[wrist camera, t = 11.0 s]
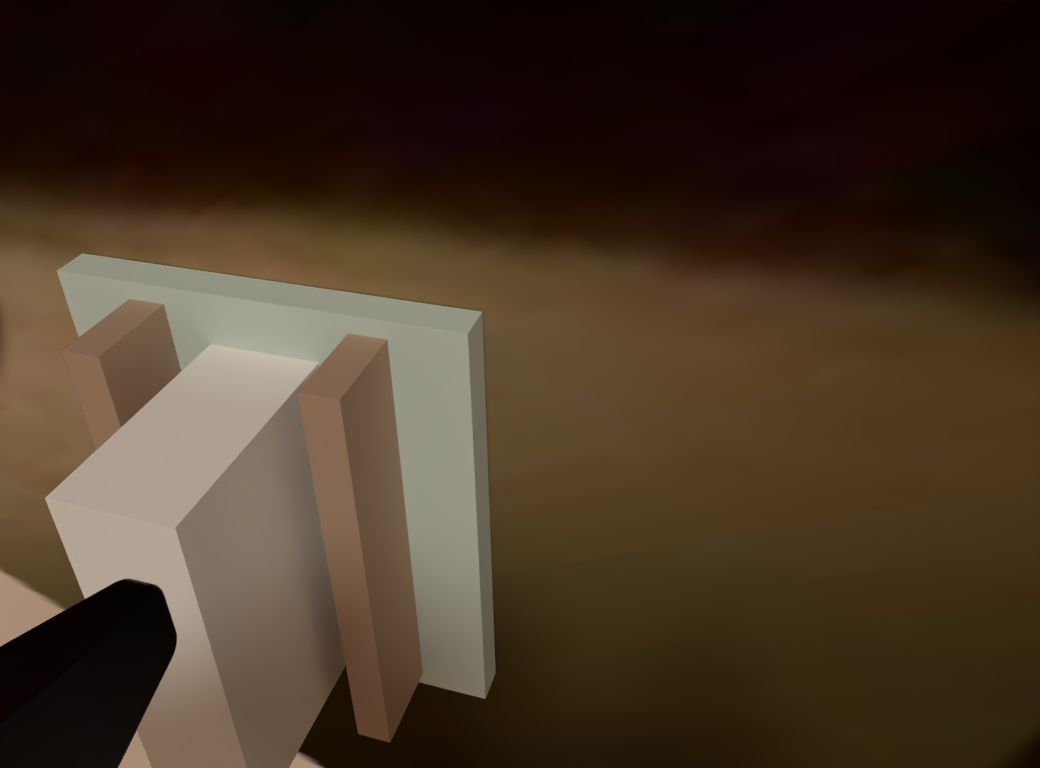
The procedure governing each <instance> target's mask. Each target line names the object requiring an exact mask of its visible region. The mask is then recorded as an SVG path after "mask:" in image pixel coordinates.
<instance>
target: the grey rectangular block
mask: <svg viewBox="0 0 1040 768" xmlns="http://www.w3.org/2000/svg"><path fill="white" fill-rule="evenodd" d="M318 368H319V363H318V362H312V361H306V360H301V359H295V358H289V357H283V356H277V355H271V354H265V353H260V352H254V351H248V350H242V349H236V348H230V347H224V346H218V345H213V344H210V345H209V346H208V347H207V348H206V349H205V350H204V351H203V352H202V353H201V354H200V355H198V356H197V357H196V358H195V359H194V360H193V361H192V362H191V363H190V364H189V365H188V366H187V367H186V368H184V369H183V370H182V371H181V372H180V373H179V374H178V375H177V376H176V377H175V378H174V379H173V380H172V381H171V382H169V383H168V384H167V385H166V386H165V387H164V388H163V389H162V390H161V391H160V392H159V393H158V394H157V395H155V396H154V397H153V398H152V399H151V400H150V401H149V402H148V403H147V404H146V405H145V406H144V407H143V408H141V409H140V410H139V411H138V412H137V413H136V414H135V415H134V416H133V417H132V418H131V419H130V420H129V421H128V422H126V423H125V424H124V425H123V426H122V427H121V428H120V429H119V430H118V431H117V432H116V433H115V434H114V435H112V436H111V437H110V438H109V439H108V440H107V441H106V442H105V443H104V444H103V445H102V446H101V447H100V448H99V449H97V450H96V451H95V452H94V453H93V454H92V455H91V456H90V457H89V458H88V459H87V460H86V461H85V462H83V463H82V464H81V465H80V466H79V467H78V468H77V469H76V470H75V471H74V472H73V473H72V474H71V475H69V476H68V477H67V478H66V479H65V480H64V481H63V482H62V483H61V484H60V485H59V486H58V487H57V488H56V489H54V490H53V491H52V492H51V493H50V494H49V495H48V496H47V497H46V498H45V499H46V502H47V505H48V507H49V510H50V512H51V515H52V517H53V520H54V522H55V525H56V527H57V530H58V532H59V535H60V537H61V540H62V542H63V545H64V547H65V550H66V552H67V555H68V557H69V560H70V562H71V565H72V567H73V570H74V572H75V575H76V577H77V580H78V582H79V585H80V588H81V590H82V593H83V595H84V598H85V599H86V598H88V597H89V596H91V595H93V594H95V593H97V592H98V591H100V590H102V589H104V588H105V587H107V586H109V585H111V584H113V583H114V582H117V581H119V580H122V579H135V580H139V581H143V582H147V583H151V584H155V585H157V586H159V587H160V588H161V589H162V591H163V593H164V595H165V598H166V601H167V605H168V608H169V611H170V614H171V617H172V620H173V623H174V626H175V629H176V633H177V644H176V649H175V652H174V655H173V657H172V660H171V662H170V664H169V666H168V668H167V670H166V672H165V674H164V676H163V678H162V680H161V682H160V684H159V686H158V688H157V690H156V692H155V694H154V696H153V698H152V700H151V702H150V704H149V706H148V708H147V710H146V712H145V714H144V716H143V718H142V720H141V722H140V724H139V726H138V728H137V731H138V733H139V736H140V738H141V741H142V743H143V746H144V748H145V751H146V754H147V756H148V759H149V761H150V763H151V766H152V768H289V766H290V765H291V763H292V761H293V759H294V758H295V756H296V754H297V752H298V750H299V749H300V747H301V745H302V743H303V741H304V740H305V738H306V736H307V734H308V732H309V731H310V729H311V727H312V725H313V723H314V722H315V720H316V718H317V716H318V714H319V713H320V711H321V709H322V707H323V705H324V704H325V702H326V700H327V698H328V696H329V695H330V693H331V691H332V689H333V687H334V686H335V684H336V682H337V680H338V678H339V677H340V675H341V673H342V671H343V669H344V668H345V666H346V663H345V658H344V652H343V647H342V641H341V635H340V630H339V624H338V619H337V613H336V607H335V602H334V596H333V591H332V585H331V579H330V574H329V568H328V563H327V557H326V551H325V546H324V540H323V535H322V529H321V523H320V518H319V512H318V507H317V501H316V496H315V490H314V484H313V479H312V473H311V468H310V462H309V456H308V451H307V445H306V440H305V434H304V428H303V423H302V417H301V412H300V406H299V400H298V395H297V392H298V391H299V390H300V388H301V387H302V386H303V385H304V384H305V383H306V381H307V380H308V379H309V378H310V377H311V376H312V375H313V373H314V372H315V371H316V370H317V369H318Z"/></svg>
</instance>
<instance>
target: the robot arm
mask: <svg viewBox="0 0 1040 768" xmlns="http://www.w3.org/2000/svg"><path fill="white" fill-rule="evenodd" d="M176 644H177V633H176V629H175V626H174V623H173V620H172V617H171V614H170V611H169V608H168V605H167V601H166V598H165V595H164V593H163V591H162V589H161V588H160V587H159V586H157V585H155V584H151V583H147V582H143V581H139V580H135V579H122V580H119V581H117V582H114V583H113V584H111V585H109V586H107V587H105V588H104V589H102V590H100V591H98V592H97V593H95V594H93V595H91V596H89V597H88V598H86V599H84V600H82V601H81V602H79V603H77V604H75V605H73V606H72V607H70V608H68V609H66V610H65V611H63V612H61V613H59V614H57V615H56V616H54V617H52V618H50V619H49V620H47V621H45V622H43V623H41V624H40V625H38V626H36V627H34V628H33V629H31V630H29V631H27V632H26V633H24V634H22V635H20V636H18V637H17V638H15V639H13V640H11V641H9V642H8V643H6V644H4V645H2V646H1V647H0V768H118V766H119V764H120V763H121V761H122V759H123V756H124V755H125V753H126V751H127V749H128V747H129V745H130V742H131V741H132V739H133V736H134V734H135V732H136V730H137V728H138V726H139V724H140V722H141V720H142V718H143V716H144V714H145V712H146V710H147V708H148V706H149V704H150V702H151V700H152V698H153V696H154V694H155V692H156V690H157V688H158V686H159V684H160V682H161V680H162V678H163V676H164V674H165V672H166V670H167V668H168V666H169V664H170V662H171V660H172V657H173V655H174V652H175V649H176Z"/></svg>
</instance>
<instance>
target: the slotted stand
mask: <svg viewBox="0 0 1040 768" xmlns="http://www.w3.org/2000/svg"><path fill="white" fill-rule="evenodd" d="M57 273H58V276H59V279H60V282H61V285H62V288H63V291H64V295H65V298H66V301H67V304H68V307H69V310H70V313H71V316H72V319H73V322H74V325H75V328H76V331H77V334H78V337H79V338H77V339H76V340H75V341H73V342H72V343H71V344H70V345H68V346H67V347H66V348H64V349H63V350H62V353H63V356H64V359H65V362H66V365H67V368H68V371H69V373H70V376H71V379H72V382H73V385H74V388H75V391H76V394H77V397H78V400H79V402H80V405H81V408H82V411H83V414H84V417H85V420H86V423H87V426H88V429H89V431H90V434H91V437H92V440H93V443H94V446H95V449H96V450H97V449H99V448H100V447H101V446H102V445H103V444H104V443H105V442H106V441H107V440H108V439H109V438H110V437H111V436H112V435H114V434H115V433H116V432H117V431H118V430H119V429H120V428H121V427H122V426H123V425H124V424H125V423H126V422H128V421H129V420H130V419H131V418H132V417H133V416H134V415H135V414H136V413H137V412H138V411H139V410H140V409H141V408H143V407H144V406H145V405H146V404H147V403H148V402H149V401H150V400H151V399H152V398H153V397H154V396H155V395H157V394H158V393H159V392H160V391H161V390H162V389H163V388H164V387H165V386H166V385H167V384H168V383H169V382H171V381H172V380H173V379H174V378H175V377H176V376H177V375H178V374H179V373H180V372H181V371H182V370H183V369H184V368H186V367H187V366H188V365H189V364H190V363H191V362H192V361H193V360H194V359H195V358H196V357H197V356H198V355H200V354H201V353H202V352H203V351H204V350H205V349H206V348H207V347H208V346H209V345H210V344H213V345H218V346H224V347H230V348H236V349H242V350H248V351H254V352H260V353H265V354H271V355H277V356H283V357H289V358H295V359H301V360H306V361H312V362H318V363H319V368H318V369H317V370H316V371H315V372H314V373H313V375H312V376H311V377H310V378H309V379H308V380H307V381H306V383H305V384H304V385H303V386H302V387H301V388H300V390H299V391H298V392H297V395H298V400H299V406H300V412H301V417H302V423H303V428H304V434H305V440H306V445H307V451H308V456H309V462H310V468H311V473H312V479H313V484H314V490H315V496H316V501H317V507H318V512H319V518H320V523H321V529H322V535H323V540H324V546H325V551H326V557H327V563H328V568H329V574H330V579H331V585H332V591H333V596H334V602H335V607H336V613H337V619H338V624H339V630H340V635H341V641H342V647H343V652H344V658H345V663H346V669H347V675H348V680H349V686H350V691H351V697H352V702H353V708H354V714H355V719H356V725H357V730H358V734H360V735H364V736H368V737H371V738H375V739H379V740H382V741H386V742H391V740H392V738H393V736H394V734H395V732H396V729H397V727H398V725H399V723H400V721H401V719H402V717H403V714H404V712H405V710H406V708H407V706H408V704H409V702H410V700H411V697H412V695H413V693H414V691H415V689H416V687H417V685H418V682H420V683H424V684H428V685H432V686H436V687H440V688H444V689H448V690H452V691H456V692H460V693H464V694H468V695H472V696H476V697H480V698H483V699H486V696H487V694H488V691H489V689H490V686H491V684H492V681H493V678H494V676H495V673H496V669H495V642H494V615H493V588H492V561H491V534H490V507H489V480H488V453H487V426H486V400H485V373H484V346H483V319H482V312H480V311H473V310H466V309H459V308H452V307H446V306H439V305H432V304H425V303H418V302H411V301H405V300H398V299H391V298H384V297H377V296H370V295H363V294H357V293H350V292H343V291H336V290H329V289H322V288H316V287H309V286H302V285H295V284H288V283H281V282H275V281H268V280H261V279H254V278H247V277H240V276H234V275H227V274H220V273H213V272H206V271H199V270H193V269H186V268H179V267H172V266H165V265H158V264H152V263H145V262H138V261H131V260H124V259H117V258H110V257H104V256H97V255H90V254H81V255H80V256H78V257H77V258H75V259H74V260H72V261H71V262H69V263H68V264H66V265H65V266H63V267H62V268H60V269H59V270H57Z"/></svg>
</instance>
